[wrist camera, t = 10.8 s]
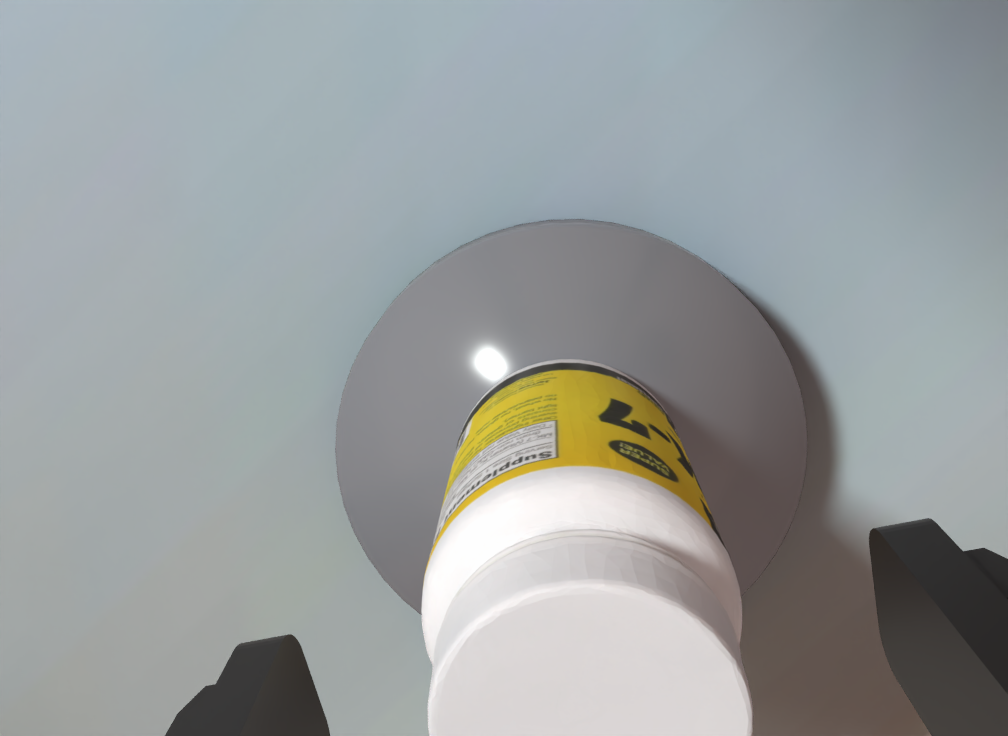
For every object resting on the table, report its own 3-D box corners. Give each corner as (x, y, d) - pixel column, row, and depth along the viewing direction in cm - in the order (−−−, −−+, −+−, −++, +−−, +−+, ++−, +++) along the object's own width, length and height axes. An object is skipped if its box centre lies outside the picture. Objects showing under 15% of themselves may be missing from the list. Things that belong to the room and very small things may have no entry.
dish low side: (293, 275, 19) (277, 286, 18) (757, 171, 18) (772, 175, 17) (409, 665, 22) (402, 696, 20) (817, 594, 21) (833, 622, 19)
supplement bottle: (722, 488, 19) (863, 782, 11) (540, 597, 20) (541, 943, 12) (597, 307, 18) (649, 481, 10) (411, 431, 18) (314, 685, 10)
